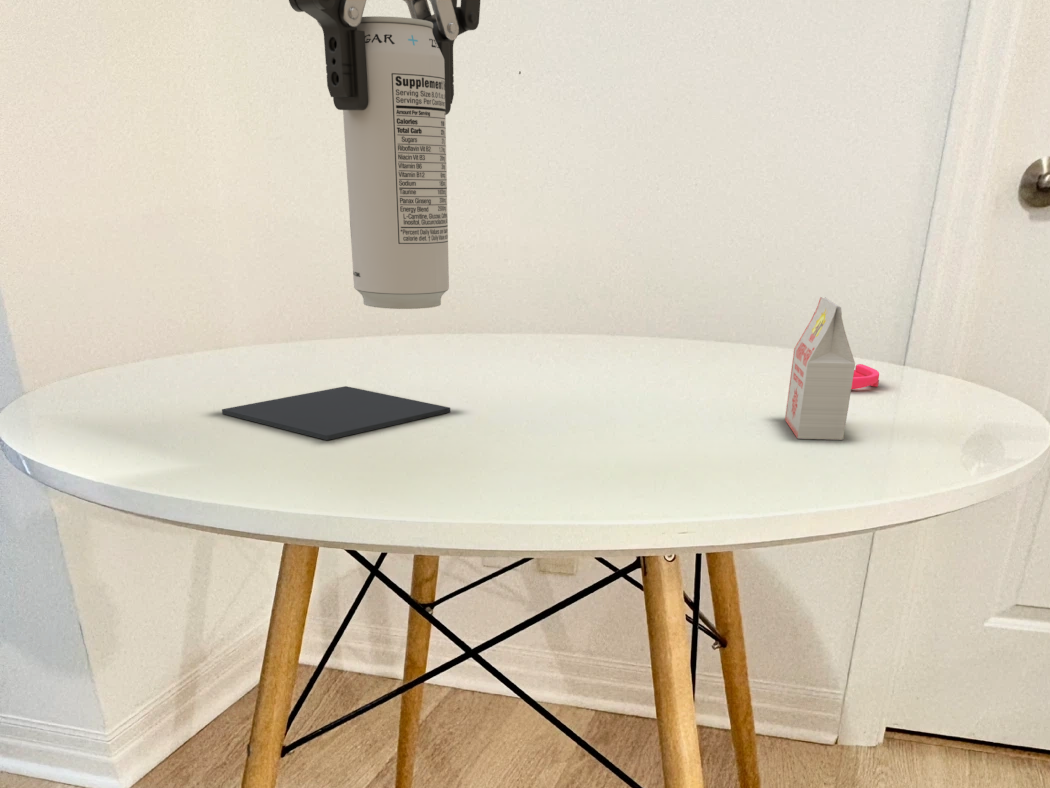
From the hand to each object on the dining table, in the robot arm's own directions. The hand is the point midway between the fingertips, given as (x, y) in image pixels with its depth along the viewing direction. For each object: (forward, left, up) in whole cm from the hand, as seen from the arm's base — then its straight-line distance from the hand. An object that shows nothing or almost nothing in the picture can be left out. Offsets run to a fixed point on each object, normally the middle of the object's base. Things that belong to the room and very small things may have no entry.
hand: (393, 111), depth 59 cm
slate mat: (+10, +20, -22) cm, 31 cm away
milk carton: (+33, -14, -22) cm, 42 cm away
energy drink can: (0, 0, -11) cm, 11 cm away
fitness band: (+54, -7, -22) cm, 59 cm away
